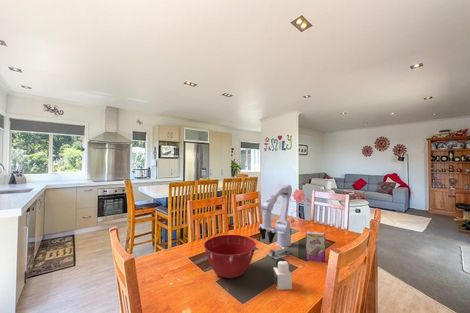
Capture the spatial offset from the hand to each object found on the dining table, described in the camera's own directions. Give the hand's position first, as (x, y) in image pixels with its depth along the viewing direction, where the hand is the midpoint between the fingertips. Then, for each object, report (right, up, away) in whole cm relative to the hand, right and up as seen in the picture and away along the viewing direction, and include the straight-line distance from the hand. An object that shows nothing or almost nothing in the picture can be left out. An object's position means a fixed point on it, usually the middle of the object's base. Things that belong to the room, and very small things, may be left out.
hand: (267, 240), depth 137 cm
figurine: (+42, -12, +66) cm, 79 cm away
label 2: (+8, -8, -2) cm, 12 cm away
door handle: (+8, -7, -3) cm, 11 cm away
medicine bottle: (+2, -7, -36) cm, 37 cm away
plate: (+6, -8, -4) cm, 11 cm away
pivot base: (+12, -9, 0) cm, 15 cm away
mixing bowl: (-24, -8, -24) cm, 35 cm away
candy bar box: (+29, -9, -9) cm, 31 cm away
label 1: (+4, -8, -5) cm, 10 cm away
